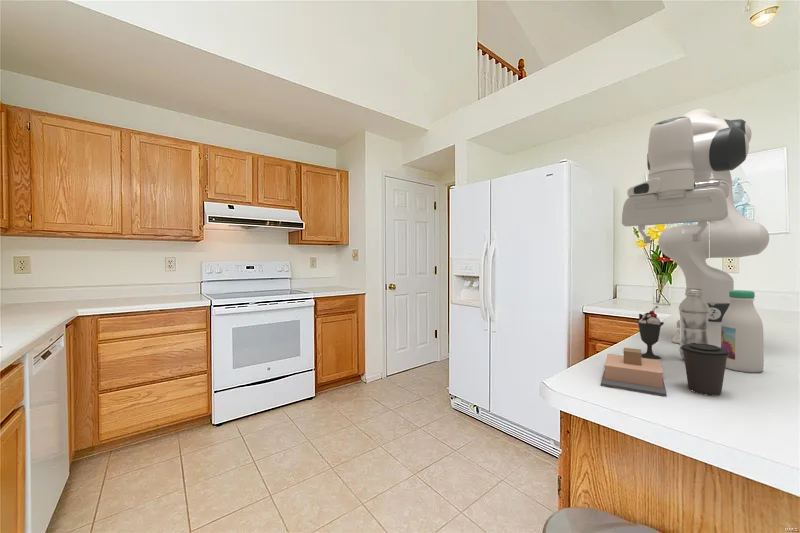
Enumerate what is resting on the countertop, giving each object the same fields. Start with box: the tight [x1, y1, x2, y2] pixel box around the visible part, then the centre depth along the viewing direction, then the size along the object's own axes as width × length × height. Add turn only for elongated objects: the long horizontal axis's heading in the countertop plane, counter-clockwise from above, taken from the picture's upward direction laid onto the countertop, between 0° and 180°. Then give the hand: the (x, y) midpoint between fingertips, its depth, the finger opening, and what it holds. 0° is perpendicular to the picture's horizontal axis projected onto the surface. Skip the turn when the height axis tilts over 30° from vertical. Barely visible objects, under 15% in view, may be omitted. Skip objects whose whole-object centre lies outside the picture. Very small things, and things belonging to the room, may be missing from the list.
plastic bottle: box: [678, 288, 710, 360], centre depth 94 cm, size 6×7×20 cm
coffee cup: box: [679, 343, 730, 396], centre depth 74 cm, size 8×8×10 cm
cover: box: [603, 347, 664, 388], centre depth 83 cm, size 11×11×6 cm
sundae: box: [635, 305, 665, 360], centre depth 99 cm, size 7×7×15 cm
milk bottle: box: [721, 289, 765, 374], centre depth 87 cm, size 8×8×20 cm
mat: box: [600, 372, 667, 397], centre depth 83 cm, size 18×12×1 cm, turn 145°
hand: (670, 242), depth 84 cm, fingers open, 8 cm apart
